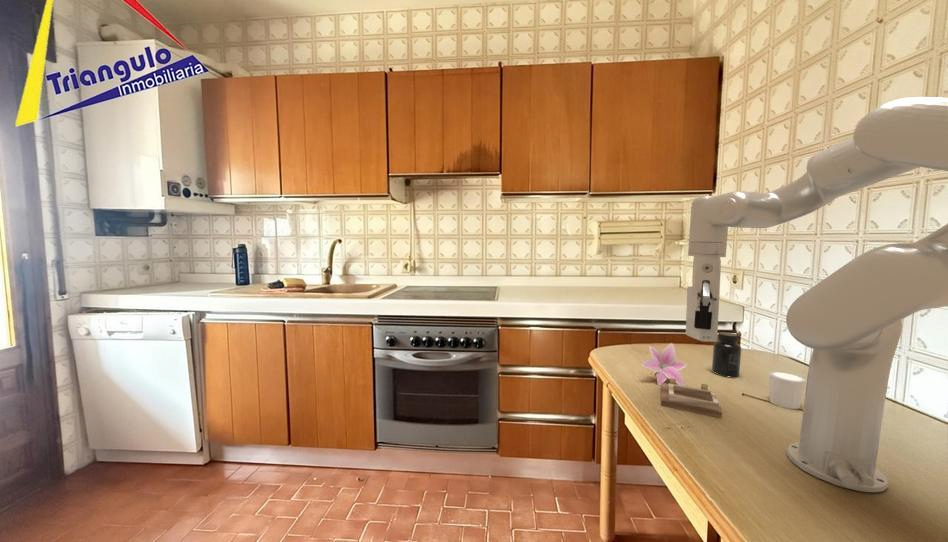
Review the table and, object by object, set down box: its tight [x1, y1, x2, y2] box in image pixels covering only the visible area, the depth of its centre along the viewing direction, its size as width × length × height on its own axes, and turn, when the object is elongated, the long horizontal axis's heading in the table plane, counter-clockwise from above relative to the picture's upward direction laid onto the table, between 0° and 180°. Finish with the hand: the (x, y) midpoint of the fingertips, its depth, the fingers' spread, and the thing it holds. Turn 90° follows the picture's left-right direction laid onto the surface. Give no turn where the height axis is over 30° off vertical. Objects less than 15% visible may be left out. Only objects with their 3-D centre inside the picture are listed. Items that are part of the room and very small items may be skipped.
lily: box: [641, 342, 688, 386], centre depth 103 cm, size 12×12×10 cm
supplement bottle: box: [711, 331, 742, 378], centre depth 109 cm, size 7×7×12 cm
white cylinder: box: [769, 371, 807, 410], centre depth 90 cm, size 7×7×7 cm
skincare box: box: [685, 286, 720, 343], centre depth 87 cm, size 6×4×12 cm
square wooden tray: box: [660, 378, 723, 419], centre depth 90 cm, size 12×12×3 cm
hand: (701, 324), depth 87 cm, fingers closed on skincare box, 7 cm apart
